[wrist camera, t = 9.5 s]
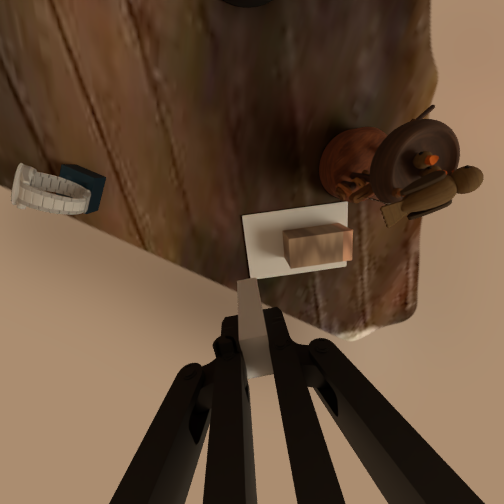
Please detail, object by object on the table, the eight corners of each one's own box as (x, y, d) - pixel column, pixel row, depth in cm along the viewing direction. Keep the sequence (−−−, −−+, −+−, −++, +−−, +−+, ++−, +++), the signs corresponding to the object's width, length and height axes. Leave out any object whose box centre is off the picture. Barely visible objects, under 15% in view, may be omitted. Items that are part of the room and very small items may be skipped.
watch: (61, 158, 34) (-13, 154, 24) (118, 182, 36) (71, 188, 26) (55, 194, 36) (-18, 205, 25) (109, 215, 37) (61, 233, 27)
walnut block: (288, 239, 35) (352, 230, 36) (282, 230, 40) (338, 222, 40) (290, 268, 37) (351, 260, 37) (284, 257, 42) (338, 249, 42)
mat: (241, 215, 39) (242, 215, 39) (347, 201, 40) (347, 201, 39) (250, 279, 43) (250, 280, 43) (345, 265, 44) (346, 266, 43)
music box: (342, 220, 41) (436, 265, 22) (297, 178, 38) (360, 190, 19) (410, 146, 37) (589, 125, 19) (367, 94, 34) (527, 7, 16)
